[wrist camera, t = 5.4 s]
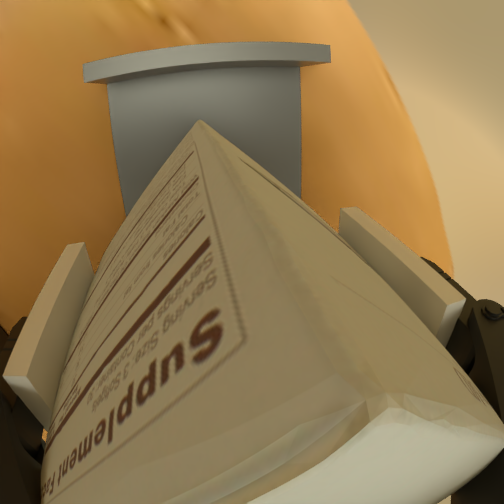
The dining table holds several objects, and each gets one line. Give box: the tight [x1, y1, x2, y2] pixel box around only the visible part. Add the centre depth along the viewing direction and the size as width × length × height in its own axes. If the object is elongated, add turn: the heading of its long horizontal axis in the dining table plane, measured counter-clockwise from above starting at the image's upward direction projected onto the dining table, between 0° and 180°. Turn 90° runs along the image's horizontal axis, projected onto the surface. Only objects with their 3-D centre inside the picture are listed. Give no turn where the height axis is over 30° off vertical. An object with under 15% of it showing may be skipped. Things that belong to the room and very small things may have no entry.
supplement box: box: [41, 120, 504, 504], centre depth 9 cm, size 7×7×13 cm
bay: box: [83, 42, 331, 217], centre depth 19 cm, size 12×17×5 cm
